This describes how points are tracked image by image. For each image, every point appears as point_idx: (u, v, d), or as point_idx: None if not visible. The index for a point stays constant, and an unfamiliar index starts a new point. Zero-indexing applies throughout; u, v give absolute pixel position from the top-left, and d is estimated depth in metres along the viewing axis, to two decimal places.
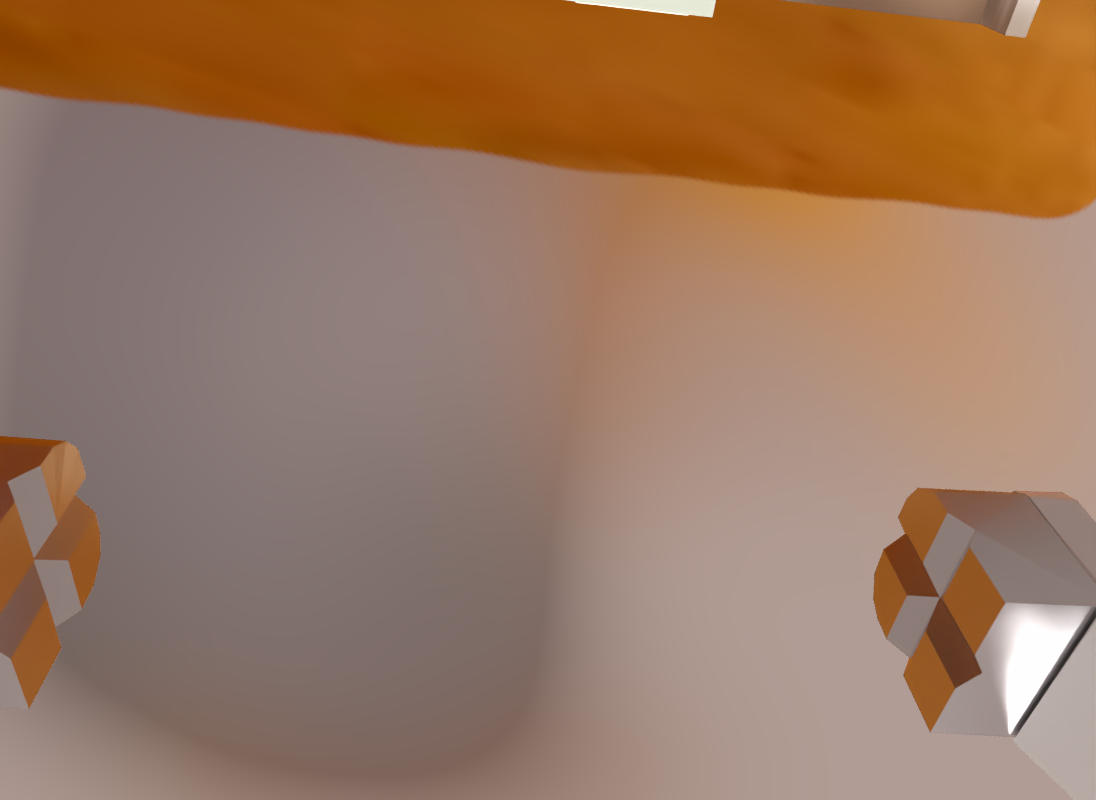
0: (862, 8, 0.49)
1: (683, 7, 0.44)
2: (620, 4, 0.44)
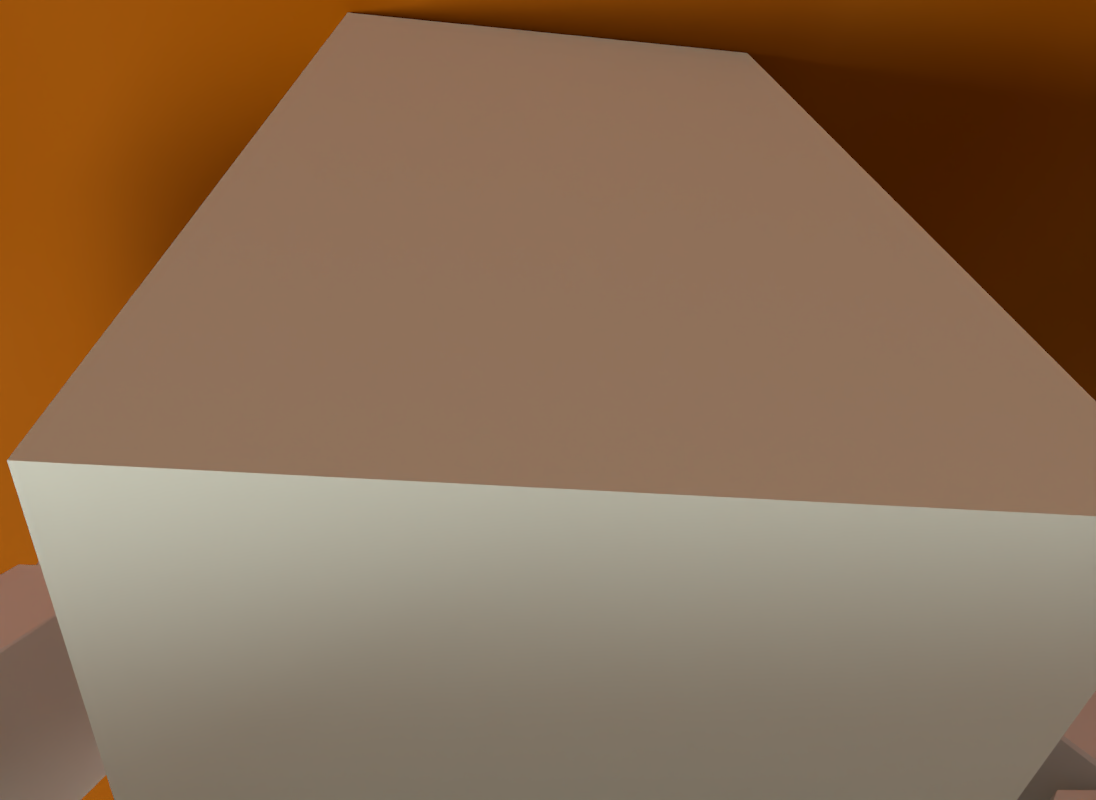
0: None
1: None
2: None
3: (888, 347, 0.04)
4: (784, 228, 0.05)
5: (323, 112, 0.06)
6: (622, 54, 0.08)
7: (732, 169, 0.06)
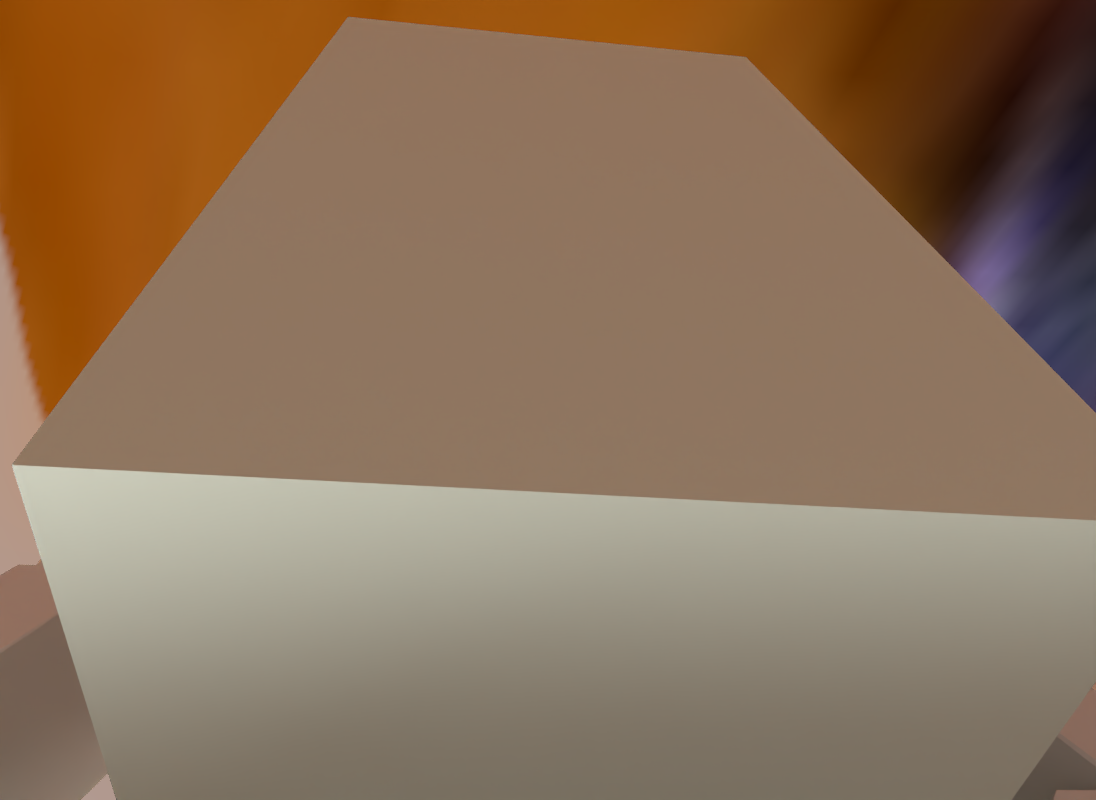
0: None
1: None
2: None
3: (883, 352, 0.04)
4: (781, 231, 0.05)
5: (323, 117, 0.06)
6: (621, 58, 0.08)
7: (729, 176, 0.06)
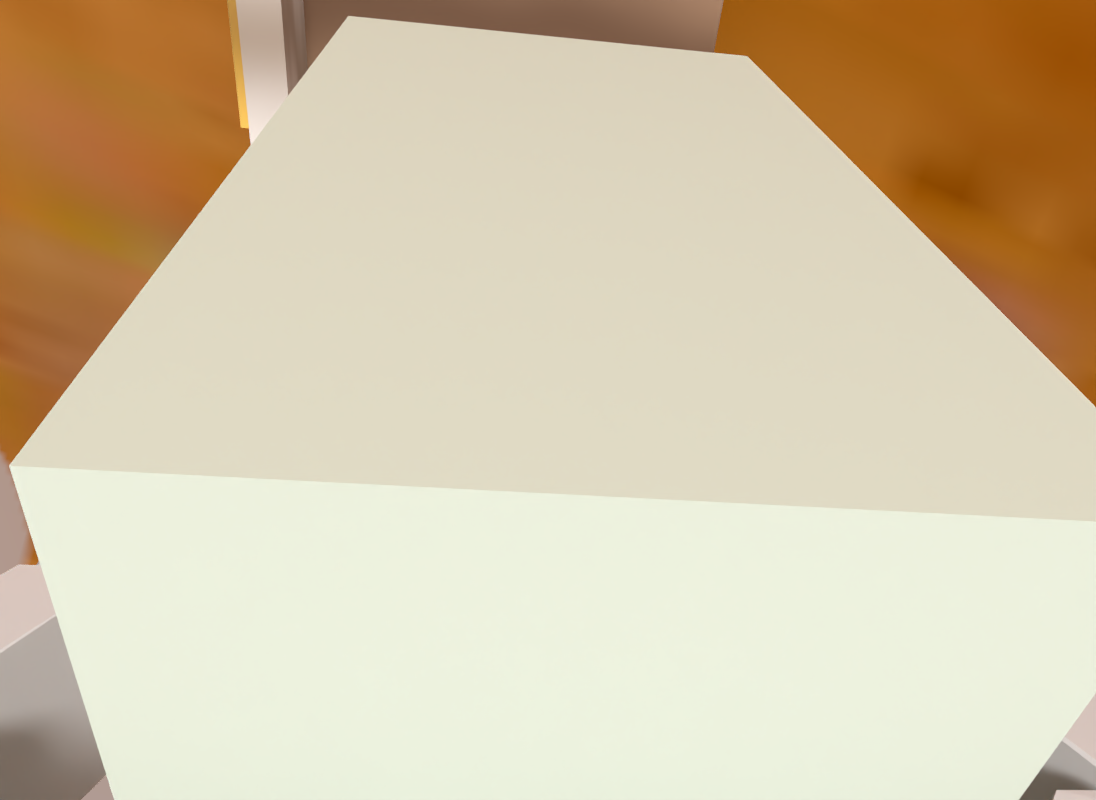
0: None
1: None
2: None
3: (887, 352, 0.04)
4: (784, 230, 0.05)
5: (324, 116, 0.06)
6: (622, 57, 0.08)
7: (731, 174, 0.06)
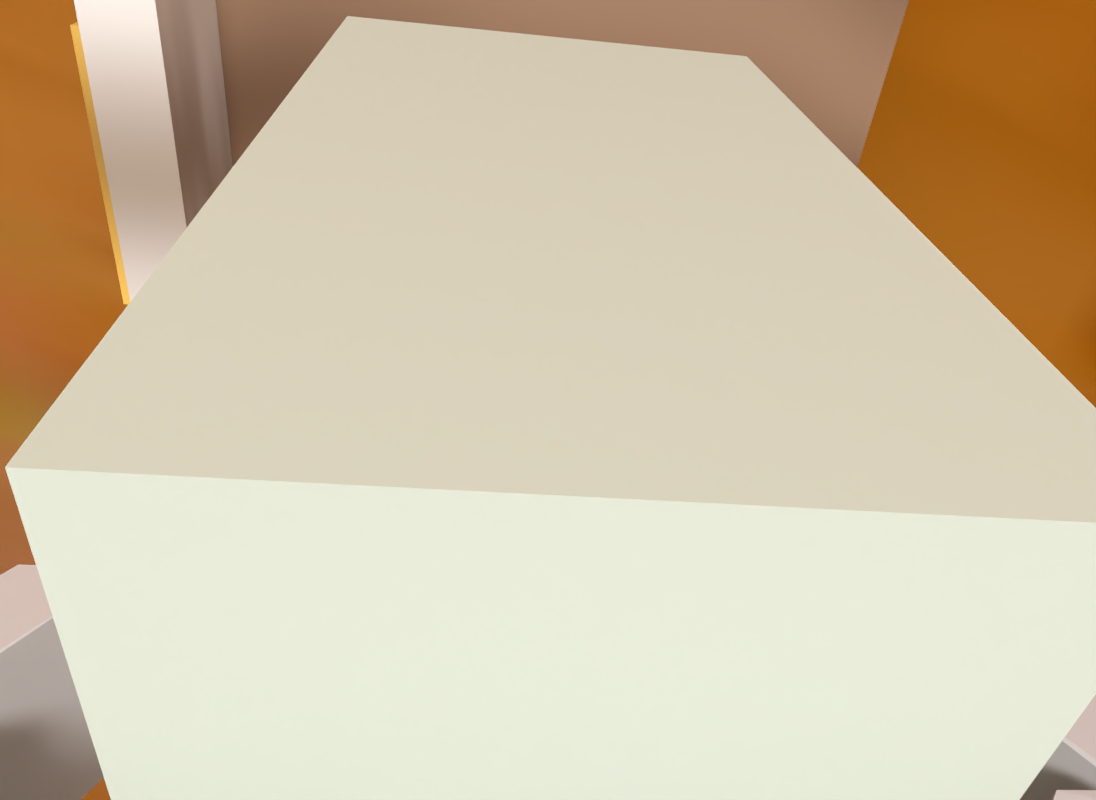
0: None
1: None
2: None
3: (887, 352, 0.04)
4: (782, 232, 0.05)
5: (322, 116, 0.06)
6: (621, 57, 0.08)
7: (730, 174, 0.06)
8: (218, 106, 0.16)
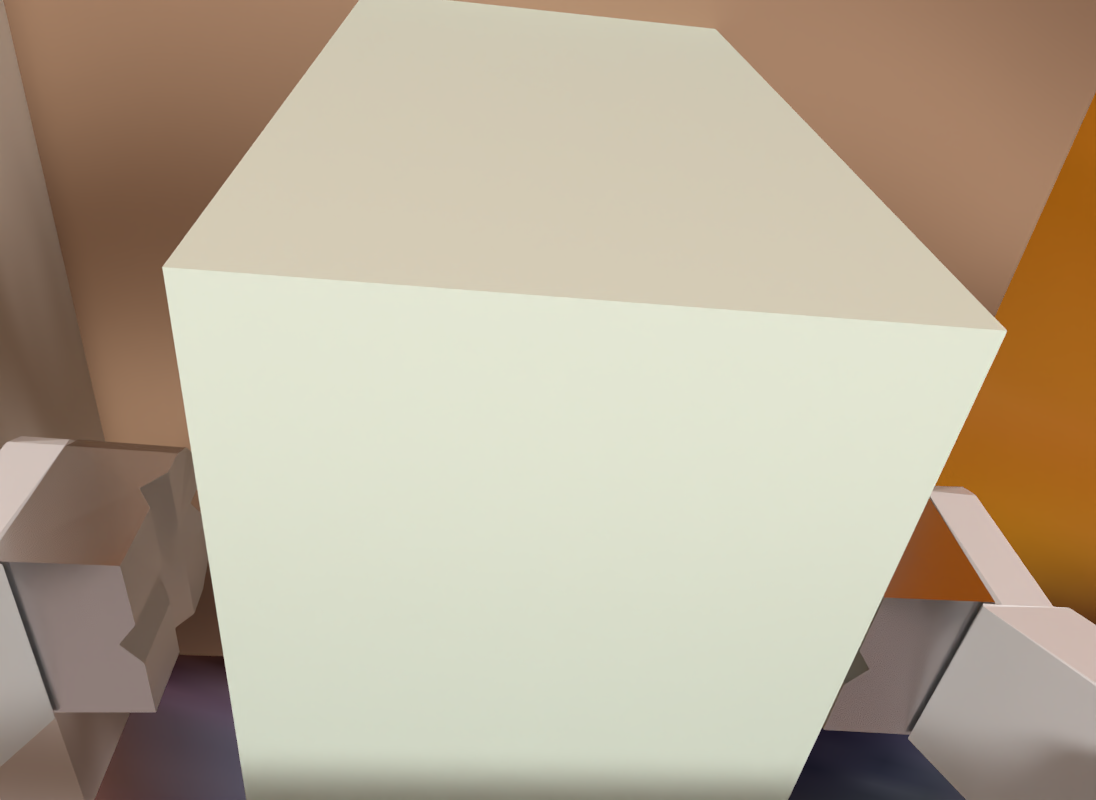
0: None
1: None
2: (247, 709, 0.06)
3: (792, 228, 0.05)
4: (725, 153, 0.06)
5: (353, 66, 0.07)
6: (605, 28, 0.09)
7: (690, 114, 0.07)
8: (35, 237, 0.11)
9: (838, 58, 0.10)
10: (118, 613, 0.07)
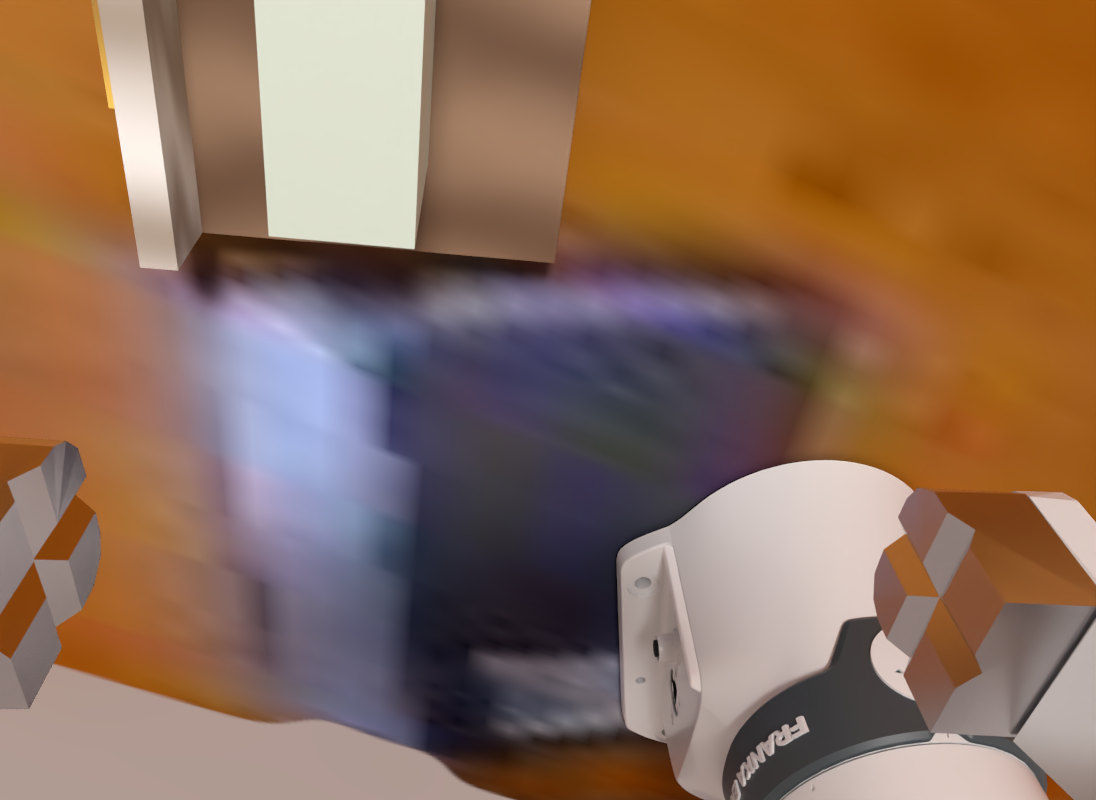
0: None
1: (276, 182, 0.23)
2: (261, 55, 0.21)
3: None
4: None
5: None
6: None
7: None
8: None
9: None
10: None
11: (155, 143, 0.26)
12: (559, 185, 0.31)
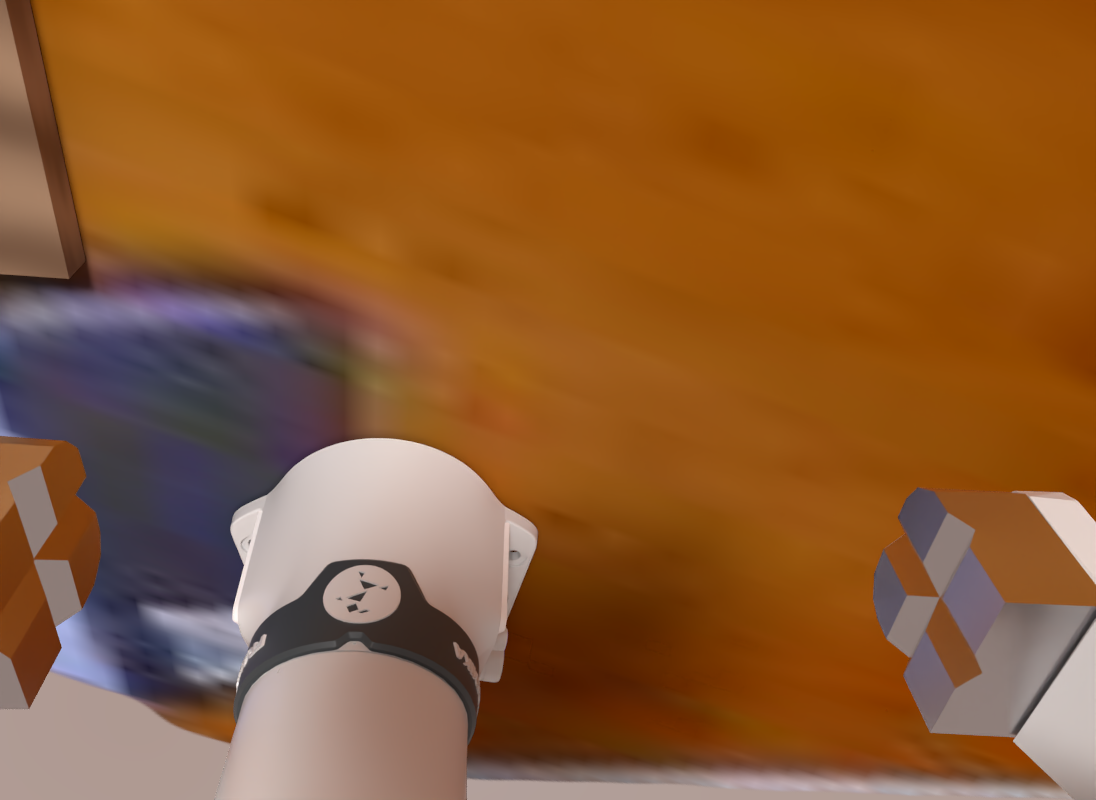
0: None
1: None
2: None
3: None
4: None
5: None
6: None
7: None
8: None
9: None
10: None
11: None
12: (51, 219, 0.40)
